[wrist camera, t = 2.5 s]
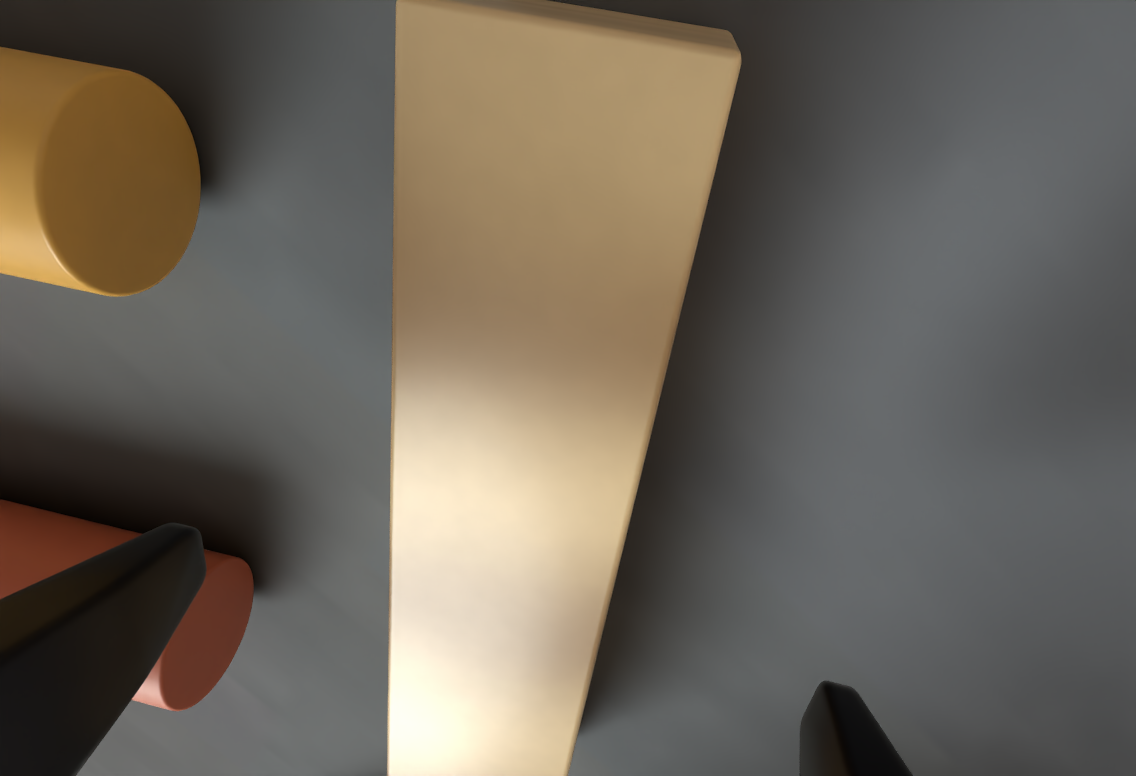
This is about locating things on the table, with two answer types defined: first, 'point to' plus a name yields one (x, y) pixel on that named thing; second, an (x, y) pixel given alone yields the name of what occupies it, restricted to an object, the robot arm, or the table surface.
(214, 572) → the terracotta rod
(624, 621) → the table surface
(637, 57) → the light wooden bar
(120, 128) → the ochre rod
